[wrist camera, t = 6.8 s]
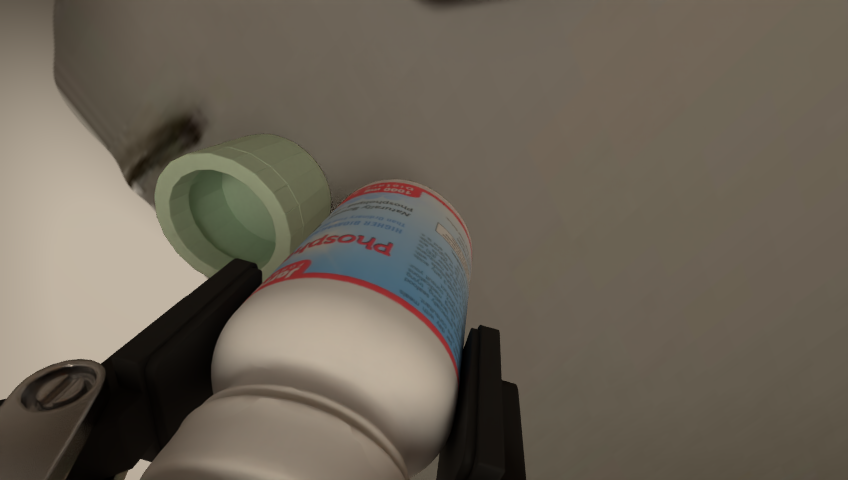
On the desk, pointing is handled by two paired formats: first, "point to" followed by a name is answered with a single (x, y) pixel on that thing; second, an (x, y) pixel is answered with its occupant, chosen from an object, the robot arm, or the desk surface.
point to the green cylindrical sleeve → (241, 202)
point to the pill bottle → (340, 352)
